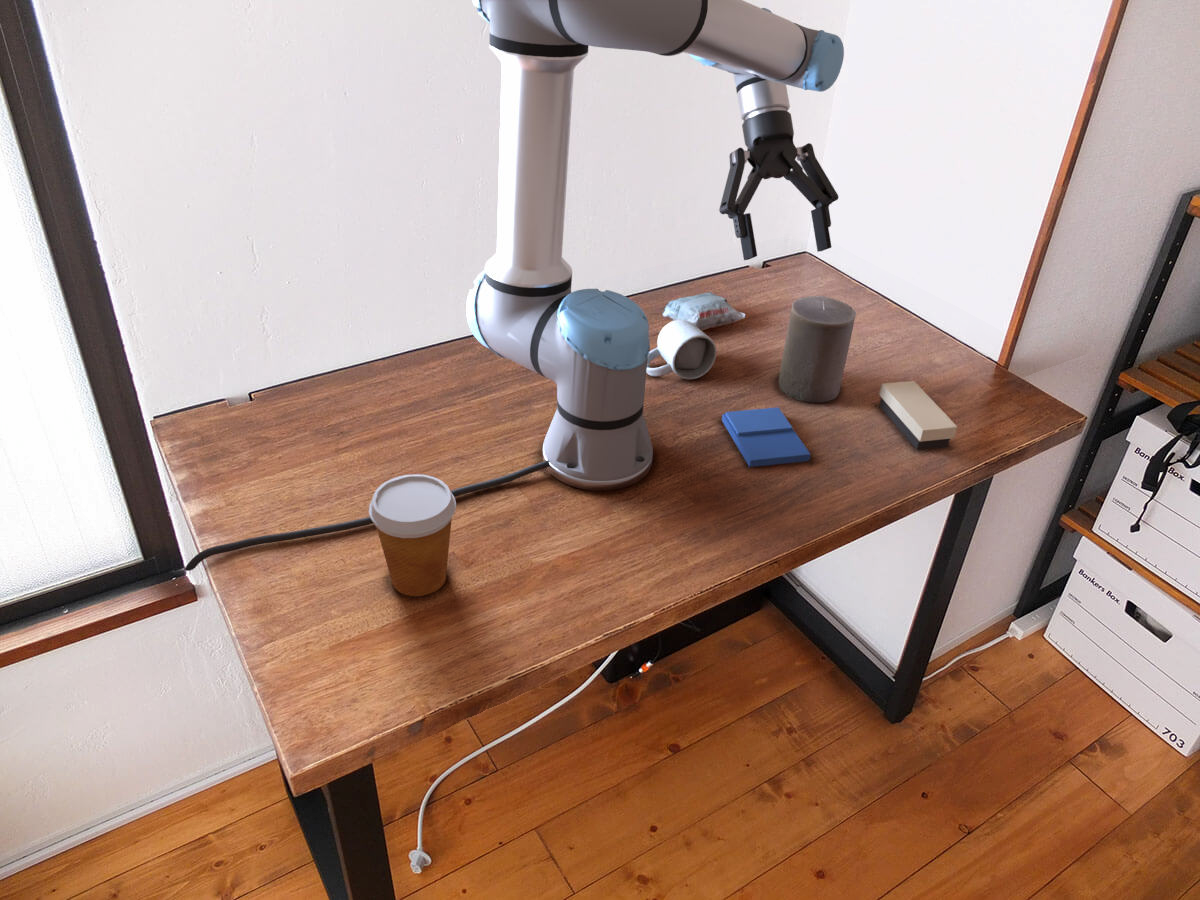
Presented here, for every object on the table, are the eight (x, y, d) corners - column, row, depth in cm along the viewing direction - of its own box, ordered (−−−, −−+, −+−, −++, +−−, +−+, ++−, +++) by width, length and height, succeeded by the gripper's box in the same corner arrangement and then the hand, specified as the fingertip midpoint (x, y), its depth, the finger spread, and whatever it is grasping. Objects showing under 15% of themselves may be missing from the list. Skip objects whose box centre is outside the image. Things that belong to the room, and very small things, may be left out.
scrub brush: (916, 452, 138) (923, 430, 136) (876, 404, 148) (881, 383, 146) (951, 448, 139) (957, 426, 137) (908, 401, 149) (914, 380, 147)
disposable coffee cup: (463, 551, 116) (459, 472, 109) (456, 607, 108) (451, 525, 101) (384, 550, 115) (375, 470, 109) (371, 606, 108) (360, 524, 101)
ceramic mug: (692, 352, 159) (696, 310, 155) (714, 376, 153) (719, 333, 148) (634, 362, 156) (636, 320, 151) (654, 387, 150) (657, 344, 145)
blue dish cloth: (749, 467, 133) (751, 457, 132) (721, 420, 142) (723, 410, 141) (809, 461, 135) (811, 451, 134) (778, 415, 144) (779, 405, 143)
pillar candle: (782, 401, 147) (797, 314, 139) (774, 370, 155) (788, 285, 147) (844, 405, 147) (864, 318, 139) (834, 373, 155) (851, 289, 147)
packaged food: (743, 329, 167) (746, 303, 164) (686, 342, 162) (688, 316, 159) (714, 309, 173) (717, 284, 170) (659, 321, 168) (661, 296, 165)
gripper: (818, 121, 155) (839, 251, 155) (683, 128, 145) (706, 267, 146) (847, 104, 148) (868, 240, 148) (706, 111, 138) (730, 256, 139)
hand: (788, 254), depth 147 cm, fingers open, 13 cm apart
